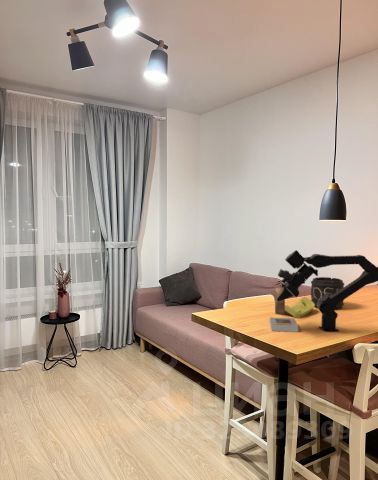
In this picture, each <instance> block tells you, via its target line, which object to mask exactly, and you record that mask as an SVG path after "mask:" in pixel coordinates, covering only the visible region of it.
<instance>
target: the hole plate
mask: <svg viewBox="0 0 378 480" xmlns="http://www.w3.org/2000/svg"><path fill="white" fill-rule="evenodd" d="M269 326H270V330H271V332H287V333H289V332H290V333H292V332H293V333H299V324H298V323H297V320H296V318H295V317H292V318H291V317H269Z"/></svg>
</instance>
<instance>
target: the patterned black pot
mask: <svg viewBox="0 0 378 480" xmlns="http://www.w3.org/2000/svg"><path fill="white" fill-rule="evenodd" d="M310 284H311V287H310V300H311V301H312V302H313V303H314V304H315V307H314V308H316V309H318V308H317V301H318V300H320V299H319V298H321V297H323V296H324V295H325V294H327V295H328V296H330V295H333V294H335V293H336V292H338V291H339V290H341V289H342V288H344V287H345V286H346V285H345V283H344V281H343V280H342V279H340V278H336V277H332V278H331V277H328V276H325V277H324V276H320V277H318V276H317V277H314V278H312V280H311V281H310ZM344 305H345V303H344V300H343V301H341V302H340V303H339V304H338V305H337V307H336V308H335V309H334V311H336V310H337V311H338V310H341V309H342V308H343V306H344Z"/></svg>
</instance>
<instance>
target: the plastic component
mask: <svg viewBox="0 0 378 480" xmlns="http://www.w3.org/2000/svg"><path fill="white" fill-rule="evenodd" d="M314 308H315V304H314V303H313V302H312V301H311V298H308V297H307V296H303V297H302V298H301V299H299V301H297V302H296V303H295V304H294V305H292V306H289V305H287V304H285V314H287V313H288V314H290V315H291V316H292V317H293V318H295V319H300V318H303V317H304V316H306V315H309V313H310V312H311V311H312V310H313V309H314Z"/></svg>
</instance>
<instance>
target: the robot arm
mask: <svg viewBox="0 0 378 480" xmlns="http://www.w3.org/2000/svg"><path fill="white" fill-rule="evenodd" d="M284 261H286V263H287V264H288V265H289V266H291V267H292V268H293V269H297V271H295V272H292V273H290V271H289V270H286V269H285V270H283V269H282V268H281V269H279V271H278V274H277V277H279V278H282V279H281V287H284V290H283V292H282V293H281V294H280V296H279V297H278V298H277V301H281V300H284V299H285V300H286V299H289V298H292V297H293V298H297V297H298V296H300V290H299V289H300V287H301V286H302V285H305V283H306V281H307V280H308V279H309V278H310V277H312V276H313V275H315V276H316V277H318V276H319V270H318V269H320V268H326V267H330V266H337V265H338V266H340V265H343V266H344V265H346V266H347V265H359V267H360V268H361V269H362V270H363V271H362V273H361V274H360V276H358V277H357V278H356V279H354V280H353V281H351V282H349V283H348V284H346V285H344V288H342V289H341V290H339V291H338V292H336V293H335V294H333V295H330V296H328V295H327V294H325V295H324V296H323V297H321V298H319V299H320V300H318V301H317V308H316V309H317V310H318V311H319V312H320V313H321V321H320V322H321V324H320V325H321V326H318V329H319V330H322V331H324V332H327V333H329V332H339V328H337V326H336V325H337V317H338V316H339V314H338V313H337V312H336V310H334V309H335V308H336V307H337V305H338V304H339V303H340V302H341V301H343V302H344V301H345V299H348V298H349V297H351V296H352V295H354V294H355V293H357V292H358V291H360V290H361V289H362V288H364V287H365V286H367V285H371V284H374V283H377V282H378V266H376V265H375V264H374V263H372V262H371V261H370V260H369V259H368V258H366V256H364V255H361V254H356V255H328V254H319V253H314V254H312V255H311V256H306V257H304V256H303V255H302V254H301V253H300V252H299V251H298V250H294V251H293V252H291V253H290V254H288V255H287V256H286V258H285V259H284ZM307 264H308V265H307ZM315 268H316V269H315Z"/></svg>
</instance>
